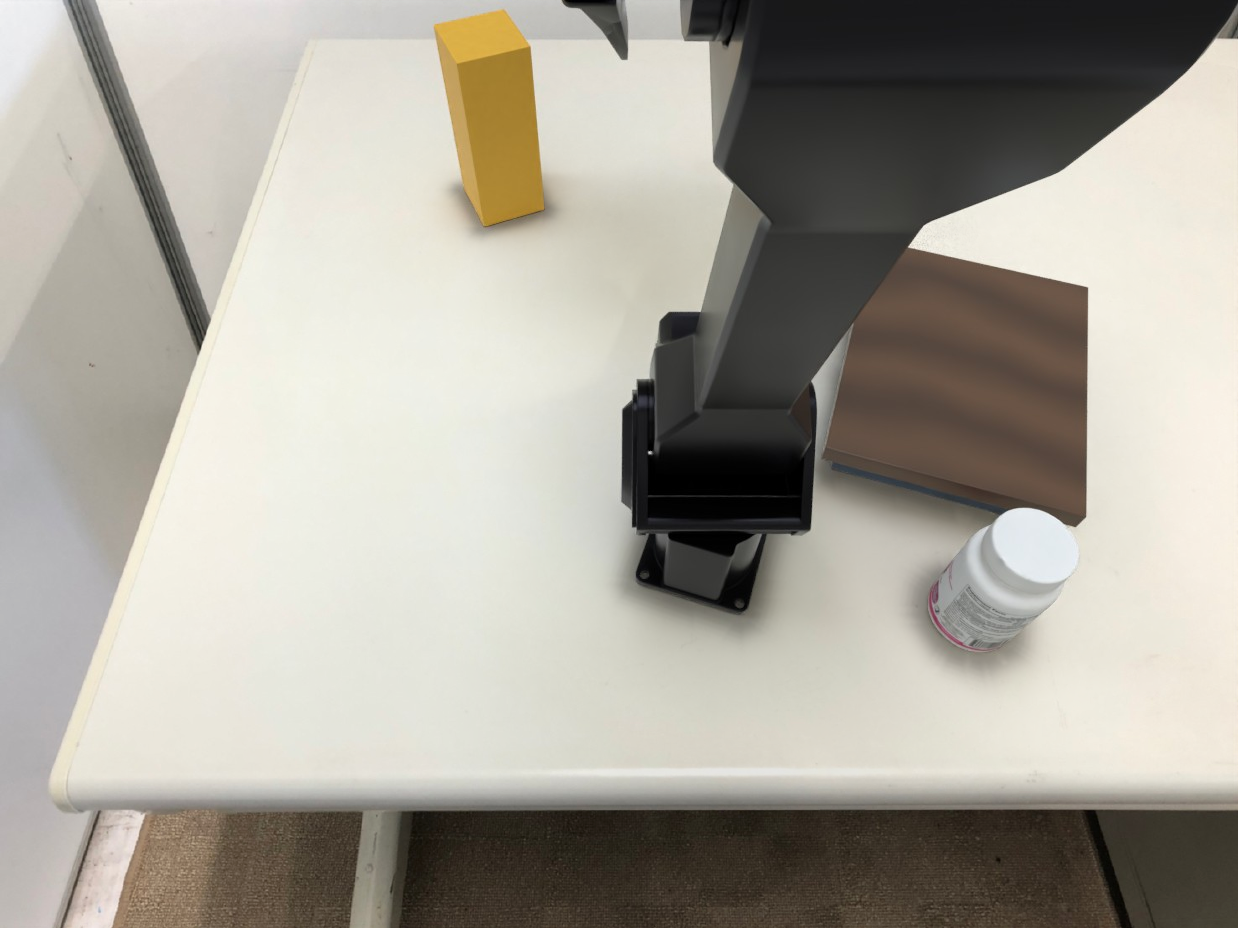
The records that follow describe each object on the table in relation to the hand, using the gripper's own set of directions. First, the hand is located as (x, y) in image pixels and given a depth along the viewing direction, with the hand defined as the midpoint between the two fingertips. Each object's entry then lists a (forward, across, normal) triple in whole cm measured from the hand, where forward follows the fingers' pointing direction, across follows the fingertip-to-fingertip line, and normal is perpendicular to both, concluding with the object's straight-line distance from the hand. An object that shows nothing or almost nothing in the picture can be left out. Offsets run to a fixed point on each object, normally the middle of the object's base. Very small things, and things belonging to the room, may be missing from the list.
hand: (699, 54), depth 48 cm
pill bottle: (+4, -14, +34) cm, 37 cm away
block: (+15, +14, +1) cm, 20 cm away
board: (+8, -16, +20) cm, 27 cm away
